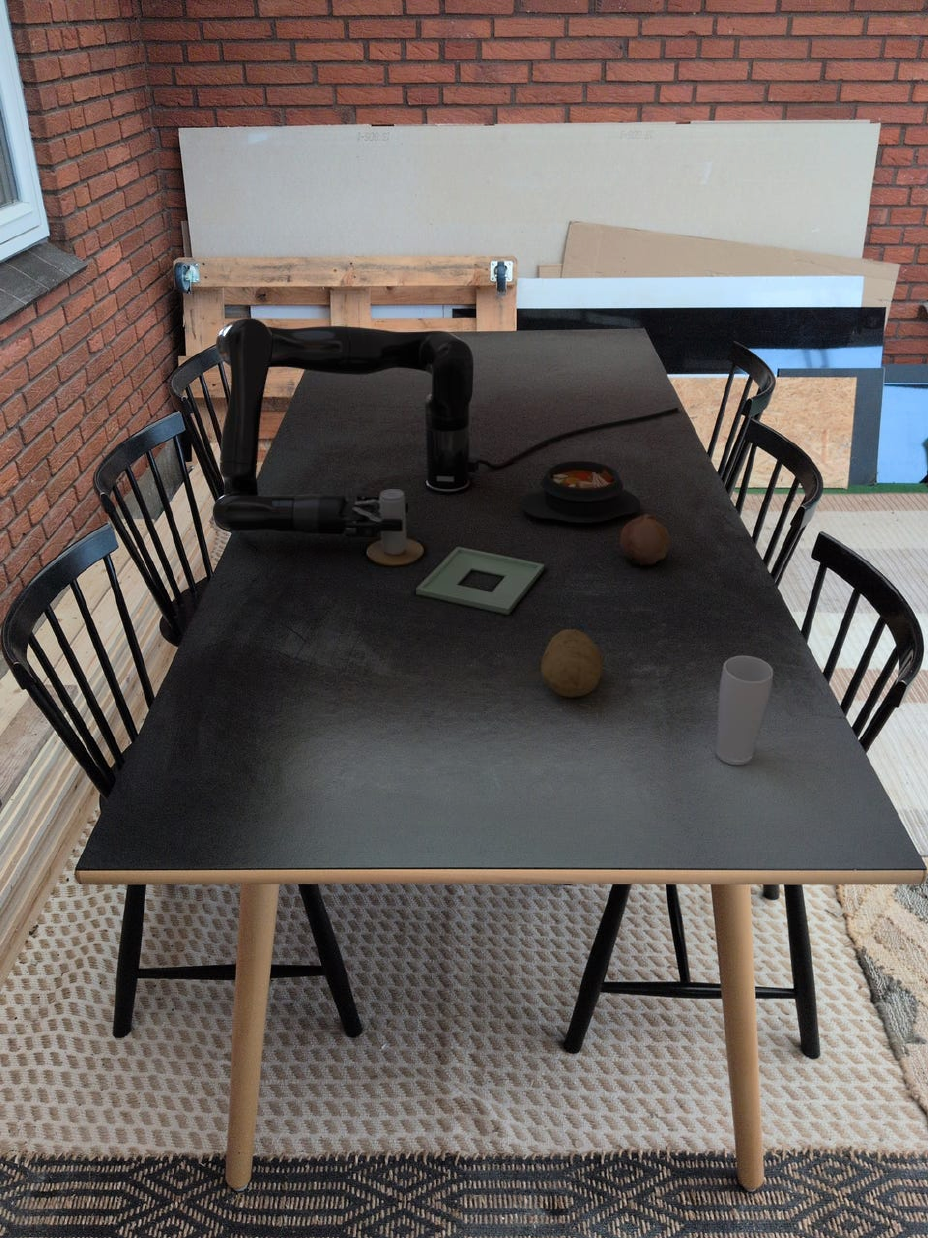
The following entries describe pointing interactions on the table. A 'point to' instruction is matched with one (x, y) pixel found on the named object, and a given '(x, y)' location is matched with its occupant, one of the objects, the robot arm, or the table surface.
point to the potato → (571, 664)
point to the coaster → (408, 556)
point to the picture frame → (464, 560)
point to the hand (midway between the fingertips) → (405, 516)
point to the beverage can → (393, 509)
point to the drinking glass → (742, 706)
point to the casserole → (580, 494)
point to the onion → (644, 540)
